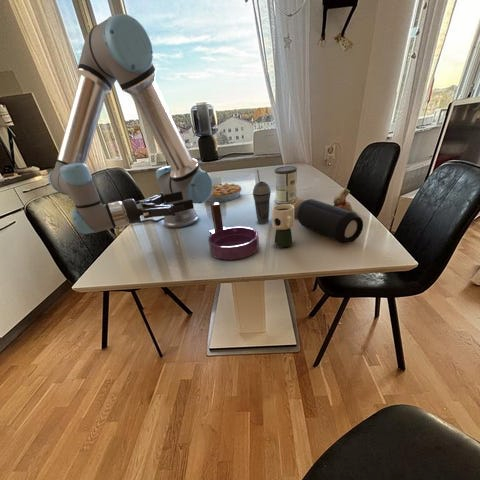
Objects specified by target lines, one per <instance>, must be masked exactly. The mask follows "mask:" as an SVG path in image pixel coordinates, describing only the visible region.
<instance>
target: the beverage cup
mask: <svg viewBox="0 0 480 480" xmlns="http://www.w3.org/2000/svg"><path fill="white" fill-rule="evenodd" d="M256 173H257V179H258V180H257V181H258V182H257V183H256V184H255V185H254V186H253V189H252V198H253V200H254V208H255V214H256V220H257V224H260V225H266V224H268V223H269V219H270V202H271V201H270V200H271V194H272V191H271V187H270V185H269V184H268V183H267V182H265V181H261V179H260V172H259V169H256Z"/></svg>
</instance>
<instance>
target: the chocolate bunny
mask: <svg viewBox="0 0 480 480" xmlns="http://www.w3.org/2000/svg"><path fill="white" fill-rule="evenodd" d="M350 193H351V191H350V190H349V189H348V187H343V188H342V190H340V192H339V193H338V194H337V195H334V197H333V202H332V203H333V206H336V207H339V208H342V209H345V210H348V211H351V212H353V207H352V204H351V202H349V201H347V196H348V195H350Z"/></svg>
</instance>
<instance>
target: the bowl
mask: <svg viewBox="0 0 480 480" xmlns="http://www.w3.org/2000/svg"><path fill="white" fill-rule="evenodd" d="M225 228H226V229H222V230H219V231H217V232H215V233H213V234H212V235H211V236H210V235H209V237H208V246H209V252H210V254H211V256H213V257H214V258H216V259H219V260H230V261H231V260H232V261H233V260H239V259H243V258H247V257H249V256H252V255H254V254H255V253H257V252H258V250H259V249H260V240H259V232H258V231H257V230H256V229H254V228H251V227H247V226H233V227H225Z"/></svg>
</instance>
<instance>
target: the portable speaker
mask: <svg viewBox="0 0 480 480" xmlns="http://www.w3.org/2000/svg"><path fill="white" fill-rule="evenodd" d="M304 200H305V201H303V202H301V203H300V205H299V206H298V208H297V211H296V217H297V218H296V220H297V221H298V223H299V224H300V225H301V226H303V227H305V228H308V229H310V230H313V231H315V232H317V233H319V234H321V235H323V236H325V237H328V238H330V239H333V240H334V241H336V242H339V243H341V244H349V243H353V242H355V241H357V239H358V238H359V237H360V235H361V234H362V232H363V228H364V221H363V218H361V216H360V215H359V214H357V213H356V212H354V211H348V210H345V209H342V208H339V207H336V206H333V205H334V204H333V205H332V204H329V203H326V202H323V201H320V200H317V199H314V198H310V199H304Z"/></svg>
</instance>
